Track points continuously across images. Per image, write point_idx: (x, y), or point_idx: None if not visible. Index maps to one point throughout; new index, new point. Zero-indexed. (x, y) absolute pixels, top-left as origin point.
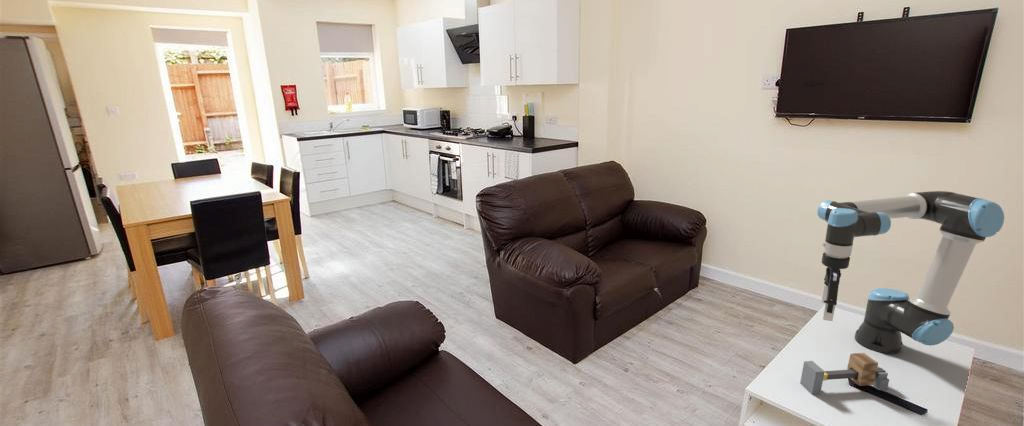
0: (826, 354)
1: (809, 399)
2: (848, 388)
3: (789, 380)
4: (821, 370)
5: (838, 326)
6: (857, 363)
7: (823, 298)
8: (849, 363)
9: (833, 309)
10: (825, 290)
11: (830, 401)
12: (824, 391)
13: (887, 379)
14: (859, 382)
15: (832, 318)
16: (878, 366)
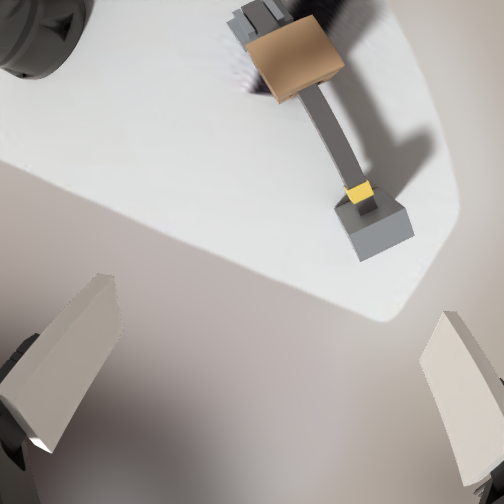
0: (144, 139)
1: None
2: None
3: (336, 253)
4: (402, 217)
5: (9, 117)
6: (315, 80)
7: (105, 346)
8: (282, 98)
9: (500, 394)
10: (64, 404)
11: (399, 167)
12: None
13: (279, 1)
14: (329, 79)
15: (466, 330)
16: (232, 12)
